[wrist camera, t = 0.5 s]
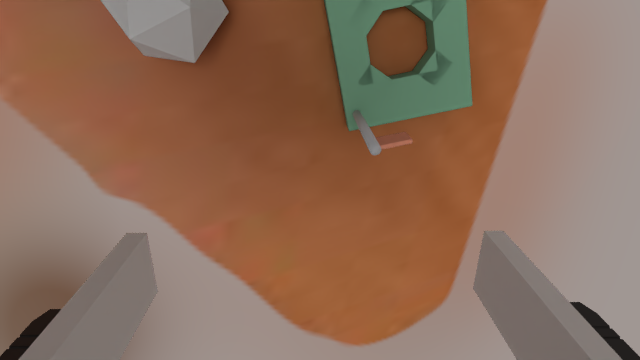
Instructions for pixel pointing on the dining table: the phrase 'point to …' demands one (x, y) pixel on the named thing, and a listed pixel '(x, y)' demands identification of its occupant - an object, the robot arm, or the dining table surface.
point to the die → (169, 25)
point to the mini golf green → (406, 88)
